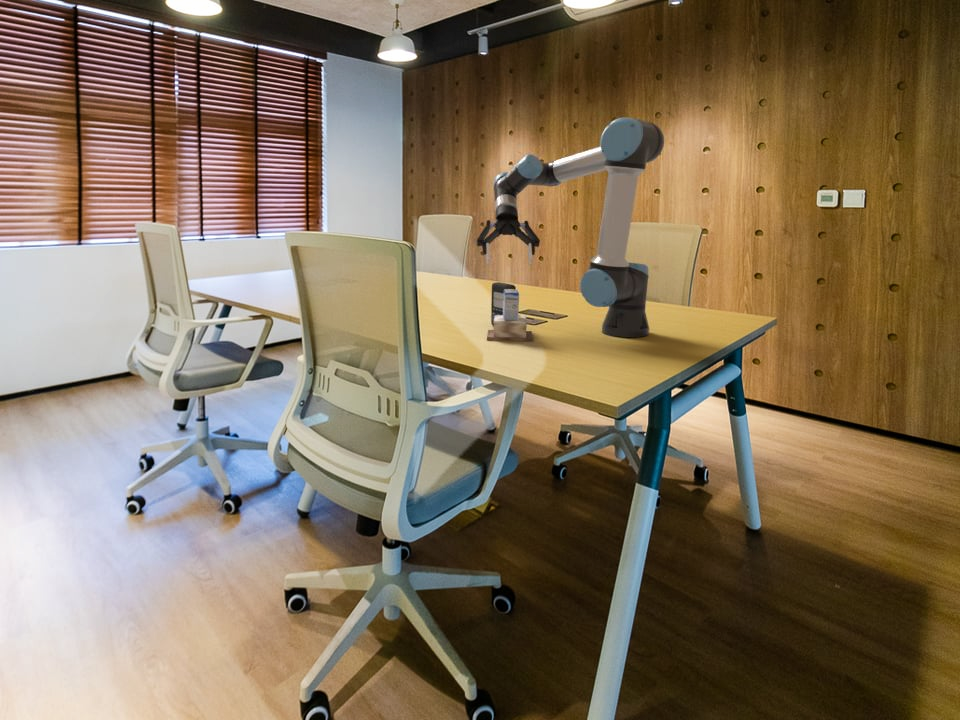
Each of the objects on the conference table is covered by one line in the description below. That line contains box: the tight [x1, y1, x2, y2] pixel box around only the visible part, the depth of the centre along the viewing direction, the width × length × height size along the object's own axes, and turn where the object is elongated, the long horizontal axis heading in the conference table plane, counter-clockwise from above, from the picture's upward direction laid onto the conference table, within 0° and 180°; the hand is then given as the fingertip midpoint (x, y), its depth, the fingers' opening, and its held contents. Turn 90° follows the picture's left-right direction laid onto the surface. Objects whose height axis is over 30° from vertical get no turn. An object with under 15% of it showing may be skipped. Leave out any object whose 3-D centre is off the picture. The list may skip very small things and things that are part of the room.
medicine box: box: [503, 289, 520, 321], centre depth 188 cm, size 8×4×9 cm, turn 1°
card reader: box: [490, 281, 517, 327], centre depth 203 cm, size 9×4×15 cm, turn 37°
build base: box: [486, 315, 534, 343], centre depth 190 cm, size 14×11×6 cm
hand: (509, 261), depth 191 cm, fingers open, 13 cm apart
